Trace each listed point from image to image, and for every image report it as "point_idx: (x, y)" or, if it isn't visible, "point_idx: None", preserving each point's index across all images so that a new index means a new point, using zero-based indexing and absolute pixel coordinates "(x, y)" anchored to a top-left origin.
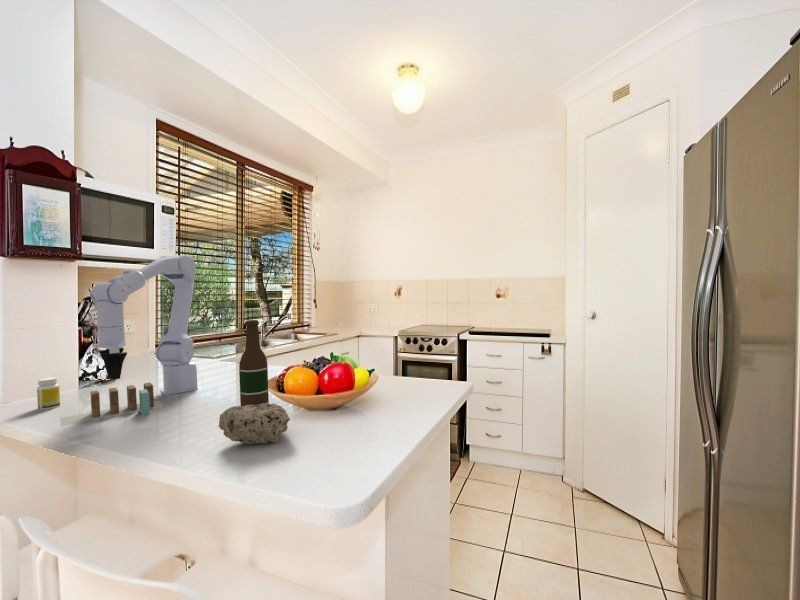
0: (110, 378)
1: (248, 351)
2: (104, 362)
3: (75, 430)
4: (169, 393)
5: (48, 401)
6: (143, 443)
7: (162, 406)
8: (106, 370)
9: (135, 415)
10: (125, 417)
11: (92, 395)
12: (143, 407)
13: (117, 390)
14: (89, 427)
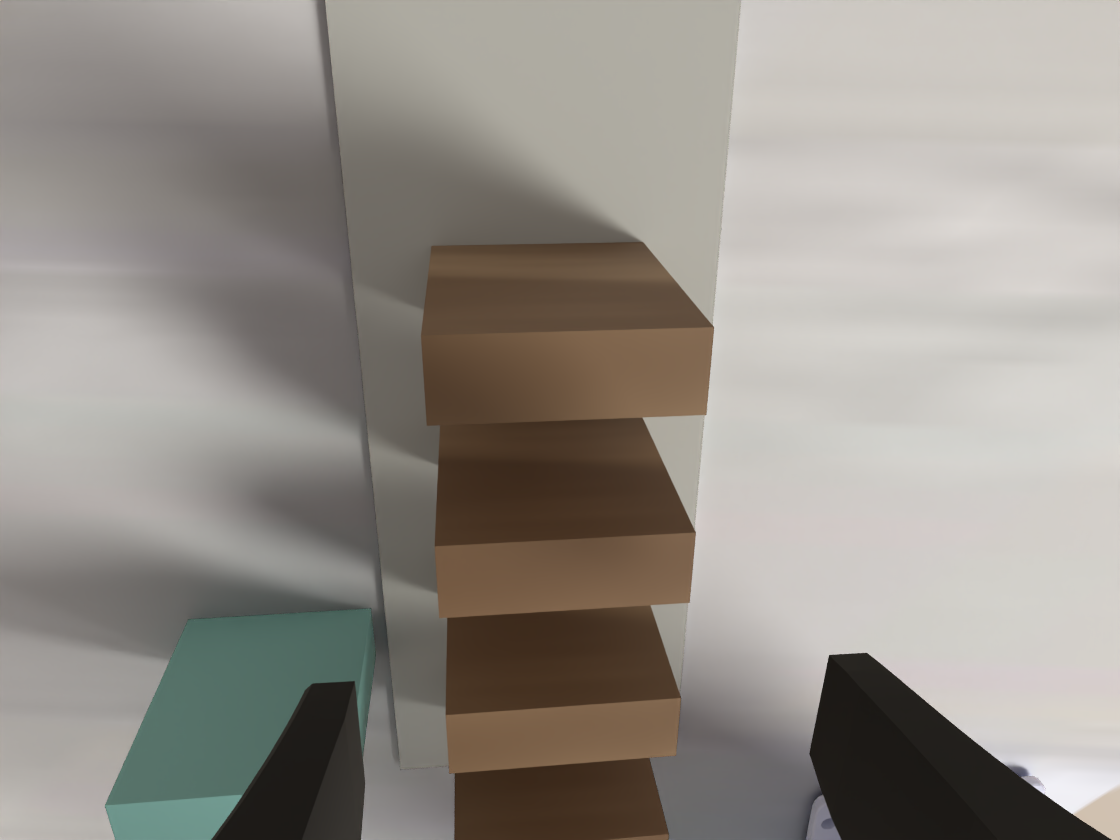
0: (297, 709)
1: None
2: (987, 832)
3: (24, 69)
4: (811, 828)
5: None
6: None
7: (401, 759)
8: (878, 707)
9: (267, 573)
10: (253, 501)
11: (421, 343)
12: (164, 685)
13: (469, 612)
14: (66, 203)
